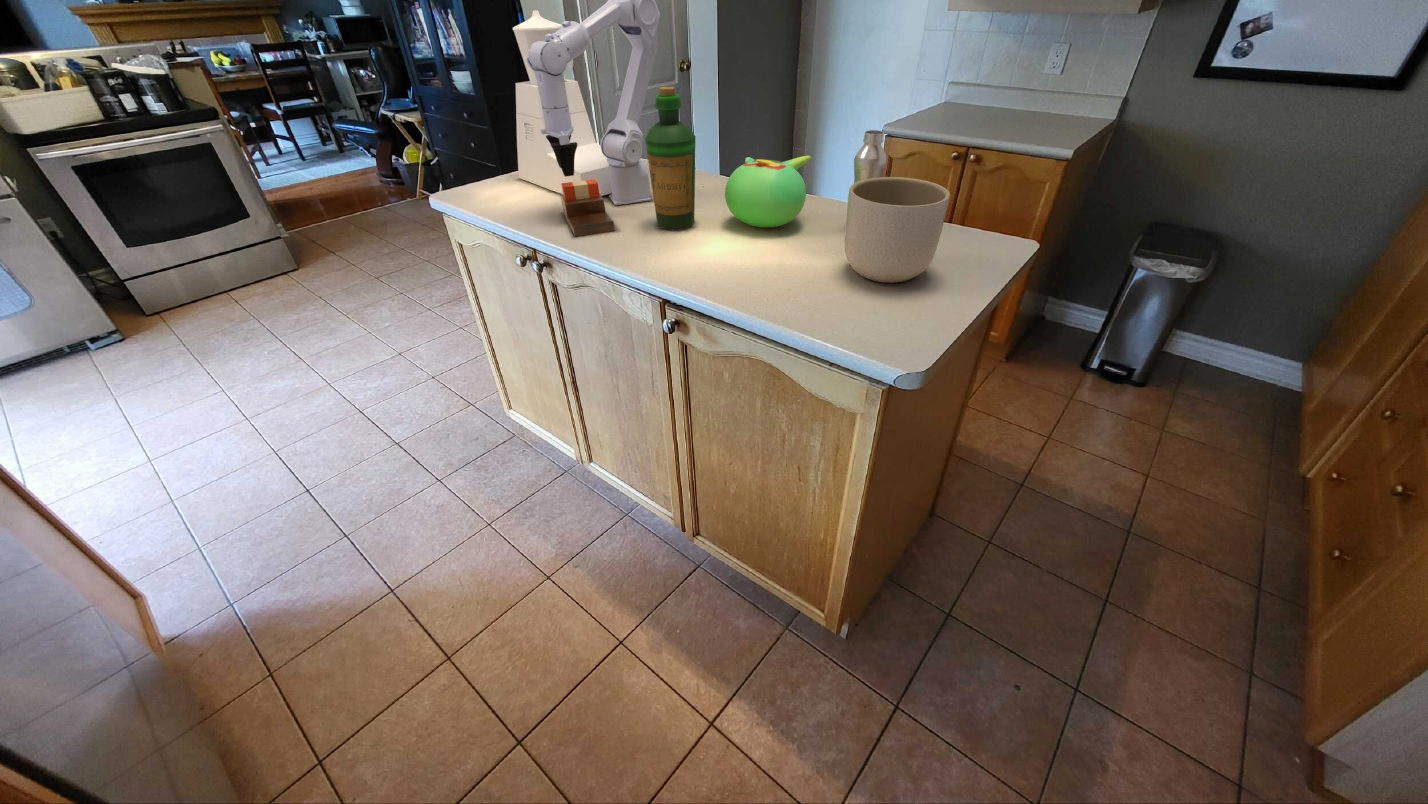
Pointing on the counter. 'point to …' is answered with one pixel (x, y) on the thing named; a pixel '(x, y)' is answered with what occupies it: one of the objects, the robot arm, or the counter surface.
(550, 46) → the robot arm
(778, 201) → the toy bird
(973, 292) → the counter surface
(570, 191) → the candy bar
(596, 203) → the step shelf
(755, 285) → the counter surface
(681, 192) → the bottle
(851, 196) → the planter
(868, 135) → the silver metal bottle
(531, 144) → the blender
